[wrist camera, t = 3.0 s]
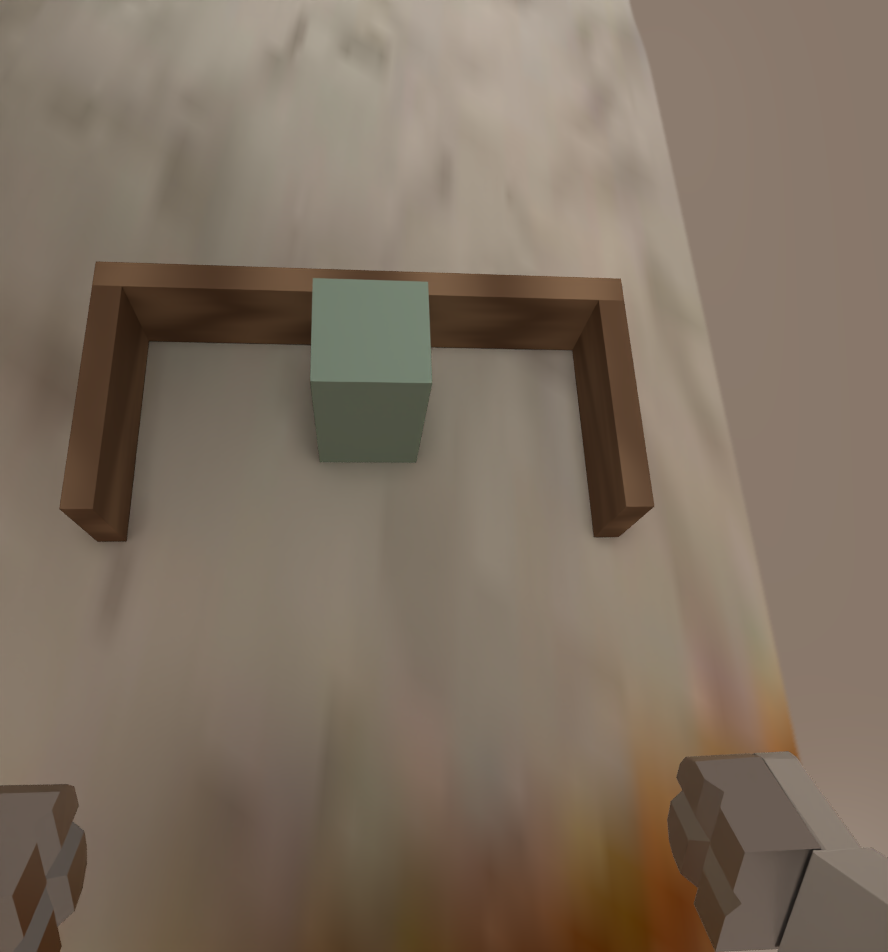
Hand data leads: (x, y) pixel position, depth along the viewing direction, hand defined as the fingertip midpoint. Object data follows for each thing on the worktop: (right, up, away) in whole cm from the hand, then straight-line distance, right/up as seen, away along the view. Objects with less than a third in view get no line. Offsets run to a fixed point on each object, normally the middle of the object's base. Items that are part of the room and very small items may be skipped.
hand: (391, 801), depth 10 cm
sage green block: (-3, +7, +26) cm, 27 cm away
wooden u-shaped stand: (-3, +7, +26) cm, 27 cm away
